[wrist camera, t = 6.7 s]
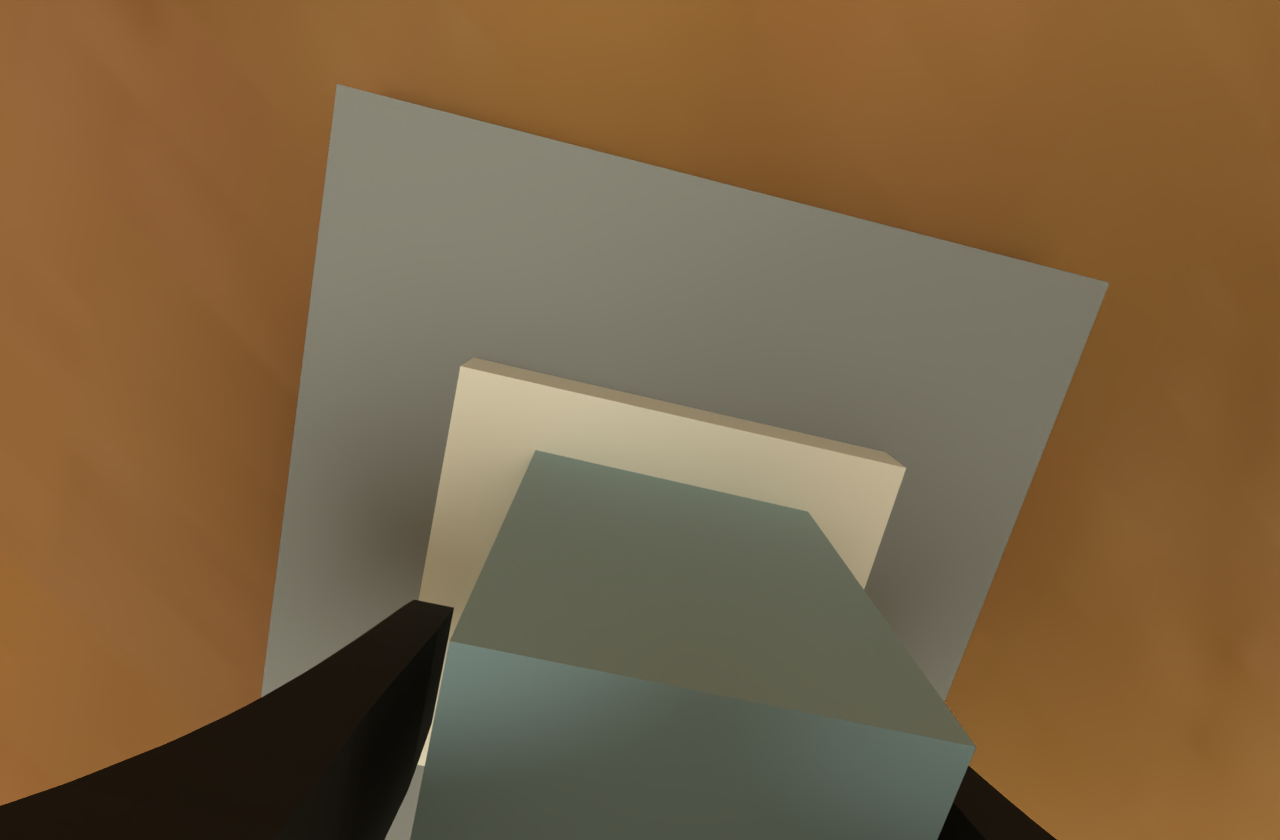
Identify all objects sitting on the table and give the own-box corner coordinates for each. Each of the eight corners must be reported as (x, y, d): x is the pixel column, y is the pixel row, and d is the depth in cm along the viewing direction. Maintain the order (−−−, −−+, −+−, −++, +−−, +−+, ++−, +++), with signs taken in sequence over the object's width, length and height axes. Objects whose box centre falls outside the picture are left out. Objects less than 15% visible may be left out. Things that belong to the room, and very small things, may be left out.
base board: (1043, 278, 14) (1151, 284, 11) (821, 878, 18) (859, 999, 15) (379, 108, 13) (310, 67, 10) (286, 783, 17) (215, 894, 14)
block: (807, 511, 12) (976, 746, 6) (733, 743, 13) (818, 1123, 8) (535, 450, 12) (450, 640, 6) (482, 693, 13) (367, 1054, 7)
